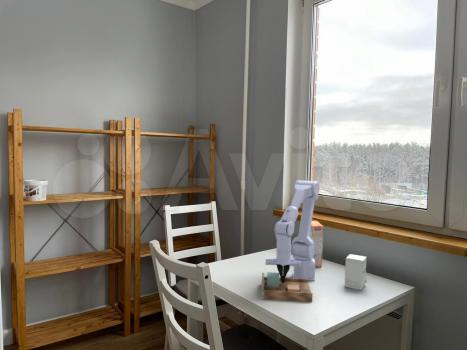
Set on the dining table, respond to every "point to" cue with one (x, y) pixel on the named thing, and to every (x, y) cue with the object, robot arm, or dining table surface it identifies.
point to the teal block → (272, 279)
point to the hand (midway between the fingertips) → (282, 282)
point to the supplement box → (355, 271)
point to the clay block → (293, 288)
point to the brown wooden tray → (282, 293)
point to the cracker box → (317, 241)
